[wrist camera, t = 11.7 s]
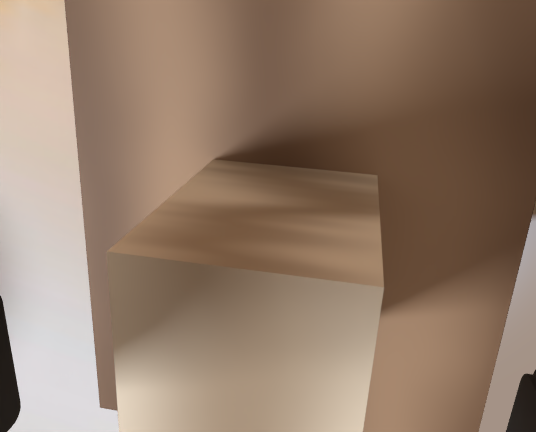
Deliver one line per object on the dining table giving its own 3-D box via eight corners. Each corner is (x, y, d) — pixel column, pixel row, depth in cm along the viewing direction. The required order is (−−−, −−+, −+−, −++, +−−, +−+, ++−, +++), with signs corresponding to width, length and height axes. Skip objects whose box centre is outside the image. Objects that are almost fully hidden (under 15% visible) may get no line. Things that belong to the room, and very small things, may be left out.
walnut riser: (522, -9, 18) (591, -24, 12) (445, 368, 24) (468, 472, 18) (145, -24, 20) (60, -42, 15) (157, 325, 26) (100, 407, 20)
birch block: (377, 175, 15) (384, 287, 9) (358, 321, 17) (351, 504, 10) (213, 159, 16) (106, 251, 9) (211, 300, 18) (121, 459, 11)
